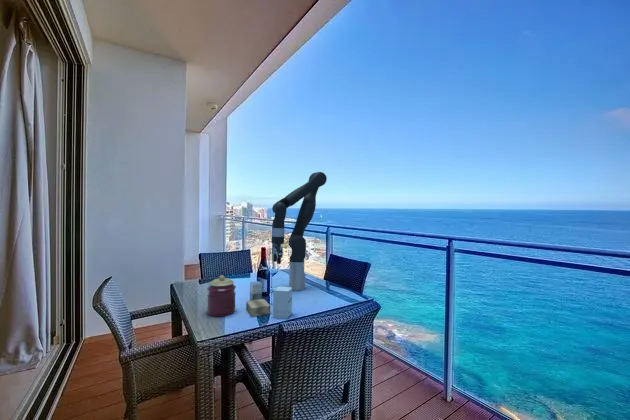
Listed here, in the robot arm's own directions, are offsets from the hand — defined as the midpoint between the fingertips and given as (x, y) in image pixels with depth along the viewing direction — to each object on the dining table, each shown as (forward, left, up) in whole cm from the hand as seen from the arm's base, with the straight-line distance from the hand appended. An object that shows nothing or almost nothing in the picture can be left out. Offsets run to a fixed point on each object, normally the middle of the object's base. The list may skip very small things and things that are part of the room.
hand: (276, 262), depth 176 cm
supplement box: (+9, +37, -18) cm, 42 cm away
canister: (+35, +22, -18) cm, 45 cm away
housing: (+16, +13, -17) cm, 27 cm away
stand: (+18, +28, -17) cm, 38 cm away
